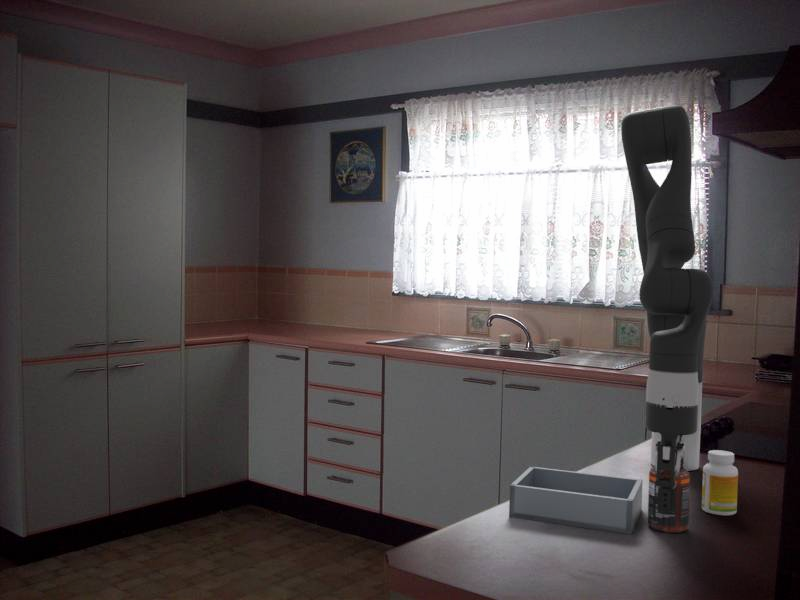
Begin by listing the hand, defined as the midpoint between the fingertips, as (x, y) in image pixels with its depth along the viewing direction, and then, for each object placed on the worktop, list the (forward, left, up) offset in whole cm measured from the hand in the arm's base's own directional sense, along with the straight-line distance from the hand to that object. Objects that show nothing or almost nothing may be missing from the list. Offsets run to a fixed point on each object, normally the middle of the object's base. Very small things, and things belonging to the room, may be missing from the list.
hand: (667, 505), depth 125 cm
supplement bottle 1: (0, 0, -4) cm, 4 cm away
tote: (-1, -14, -3) cm, 14 cm away
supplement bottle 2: (-13, +7, -4) cm, 15 cm away
